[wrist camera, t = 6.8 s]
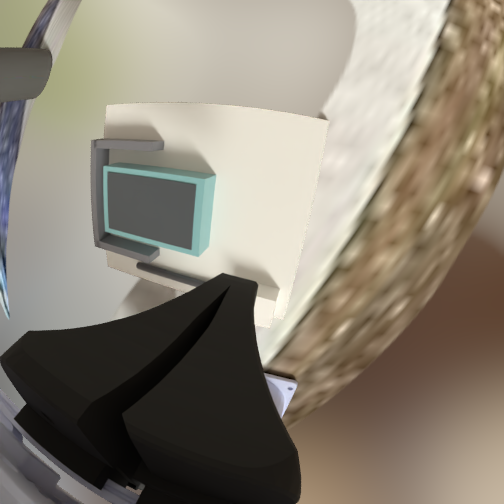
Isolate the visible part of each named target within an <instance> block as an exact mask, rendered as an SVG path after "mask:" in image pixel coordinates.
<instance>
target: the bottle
mask: <svg viewBox="0 0 504 504" xmlns="http://www.w3.org/2000/svg"><path fill="white" fill-rule="evenodd" d="M51 66H52V56H51V53H50V51H49V50H46V49H37V48H0V103H1V102H9V101H17V100H26V99H33V98H36V97H37V96H39V95H40V93H41V92H42V91H43V89H44V87H45V85H46V83H47V81H48V78H49V75H50V71H51Z"/></svg>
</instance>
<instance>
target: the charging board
mask: <svg viewBox="0 0 504 504" xmlns="http://www.w3.org/2000/svg"><path fill="white" fill-rule="evenodd" d="M328 126H329V121H328V120H323V119H319V118H314V117H309V116H304V115H298V114H293V113H287V112H281V111H274V110H268V109H261V108H253V107H244V106H234V105H223V104H208V103H184V102H150V103H126V104H113V105H107V107H106V117H105V129H104V139H97V140H92V141H91V203H92V220H93V231H94V242H95V246H96V247H99V248H102V249H105V250H106V251H107V261H108V266H109V267H112V268H114V269H117V270H120V271H123V272H126V273H129V274H132V275H134V276H137V277H140V278H143V279H146V280H149V281H152V282H155V283H158V284H161V285H164V286H167V287H170V288H173V289H176V290H179V291H183V292H186V293H187V292H189V291H191V290H192V289H194V288H196V287H198V286H200V285H201V284H203V283H205V282H207V281H208V280H210V279H212V278H214V277H216V276H217V275H219V274H221V273H225V274H229V275H233V276H237V277H241V278H244V279H248V280H252V281H256V282H257V284H258V290H257V296H256V301H255V306H254V323H255V325H257V326H261V327H265V328H270V325H271V322H272V318H273V317H274V318H278V319H282V320H283V319H284V316H285V312H286V309H287V305H288V301H289V298H290V294H291V290H292V287H293V283H294V279H295V275H296V271H297V267H298V264H299V260H300V256H301V252H302V248H303V243H304V239H305V235H306V231H307V227H308V222H309V218H310V214H311V209H312V205H313V200H314V196H315V191H316V187H317V182H318V177H319V172H320V167H321V162H322V157H323V152H324V147H325V142H326V137H327V131H328ZM118 162H121V163H132V164H141V165H150V166H158V167H166V168H174V169H181V170H188V171H195V172H201V173H208V174H214V175H216V182H215V191H214V200H213V210H212V220H211V230H210V241H209V247H208V248H207V249H206V250H205V251H204V252H203V253H202V254H201V255H200V256H199V257H196V256H192V255H189V254H185V253H181V252H177V251H174V250H170V249H166V248H163V247H159V246H155V245H152V244H148V243H144V242H141V241H137V240H134V239H130V238H126V237H123V236H119V235H116V234H112V233H109V232H105V220H104V195H103V166H106V165H110V164H114V163H118Z"/></svg>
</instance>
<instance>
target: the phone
mask: <svg viewBox="0 0 504 504" xmlns="http://www.w3.org/2000/svg"><path fill="white" fill-rule="evenodd" d="M215 182H216V175H214V174H208V173H201V172H195V171H188V170H181V169H174V168H166V167H158V166H150V165H141V164H132V163H121V162H118V163H114V164H110V165H106V166H103V195H104V220H105V232H109V233H112V234H116V235H119V236H123V237H126V238H130V239H134V240H137V241H141V242H144V243H148V244H152V245H155V246H159V247H163V248H166V249H170V250H174V251H177V252H181V253H185V254H189V255H192V256H196V257H199V256H200V255H201V254H202V253H203V252H204V251H205V250H206V249H207V248H208V247H209V241H210V230H211V220H212V210H213V200H214V191H215Z"/></svg>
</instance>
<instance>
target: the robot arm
mask: <svg viewBox="0 0 504 504" xmlns="http://www.w3.org/2000/svg"><path fill="white" fill-rule="evenodd" d="M257 290H258V284H257V282H256V281H252V280H248V279H244V278H241V277H237V276H233V275H229V274H225V273H221V274H219V275H217V276H216V277H214V278H212V279H210V280H208V281H207V282H205V283H203V284H201V285H200V286H198V287H196V288H194V289H192V290H191V291H189V292H187V293H185V294H183V295H181V296H179V297H177V298H175V299H172V300H170V301H168V302H166V303H164V304H162V305H160V306H157V307H155V308H152V309H150V310H147V311H144V312H141V313H139V314H136V315H133V316H129V317H126V318H122V319H118V320H114V321H110V322H107V323H103V324H98V325H93V326H87V327H80V328H74V329H64V330H46V331H45V330H44V331H28V332H27V333H26V334H24V335H23V336H22V337H21V338H20V339H19V340H18V341H17V342H16V343H14V344H13V345H12V346H11V347H10V348H9V349H8V350H7V351H6V352H5V353H4V354H3V355H2V356H1V357H0V363H1V366H2V368H3V370H4V371H5V373H6V375H7V376H8V378H9V379H10V381H11V382H12V384H13V385H14V387H15V388H16V390H17V391H18V392H19V394H20V395H21V396H22V398H23V399H24V400H25V402H26V403H27V404H26V405H25V406H24V407H23V408H22V409H21V410H20V409H19V408H18V407H17V406H16V405H15V404H14V403H13V402H12V401H11V400H10V398H8V396H7V395H6V394H5V393H4V392H3V391H2V390H1V388H0V504H84V503H82V502H81V501H79V500H77V499H76V498H74V497H73V496H72V495H70V494H69V493H68V492H66V491H65V490H63V489H62V488H61V487H59V486H58V485H57V482H58V481H59V480H60V475H59V474H57V473H56V472H55V471H54V470H53V469H52V468H51V467H50V466H48V465H47V464H46V463H45V462H44V461H42V460H41V459H40V458H39V457H38V456H37V455H35V454H34V453H33V452H32V451H31V450H30V449H29V448H28V447H26V446H25V445H24V444H23V441H22V440H23V437H22V435H23V436H24V437H25V438H26V439H28V441H29V442H30V443H32V444H33V445H34V446H35V447H36V448H37V449H38V450H39V451H40V452H41V453H42V454H44V455H45V456H46V457H47V458H48V459H49V460H51V461H52V462H53V463H54V464H55V465H57V466H58V467H59V468H60V469H62V470H63V471H64V472H66V473H67V474H68V475H70V476H71V477H72V478H74V479H75V480H76V481H78V482H79V483H81V484H82V485H84V486H85V487H87V488H88V489H90V490H91V491H93V492H94V493H96V494H97V495H99V496H100V497H102V498H104V499H106V500H107V501H109V502H111V503H112V504H296V503H297V502H298V501H299V499H300V494H301V472H300V464H299V457H298V451H297V449H296V447H295V445H294V443H293V441H292V440H291V438H290V436H289V434H288V432H287V430H286V428H285V426H284V424H283V422H282V420H281V418H282V416H283V414H284V412H285V410H286V408H287V406H288V404H289V402H290V400H291V398H292V396H293V394H294V392H295V390H296V387H297V382H296V381H295V380H291V379H287V378H283V377H279V376H275V375H271V374H267V373H264V372H263V368H262V364H261V360H260V356H259V351H258V346H257V340H256V332H255V323H254V306H255V301H256V296H257ZM126 486H129V487H131V488H133V489H135V490H137V489H140V490H142V493H141V494H140V495H137V494H136V493H134V492H132V491H130V490H128V489H126Z"/></svg>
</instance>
